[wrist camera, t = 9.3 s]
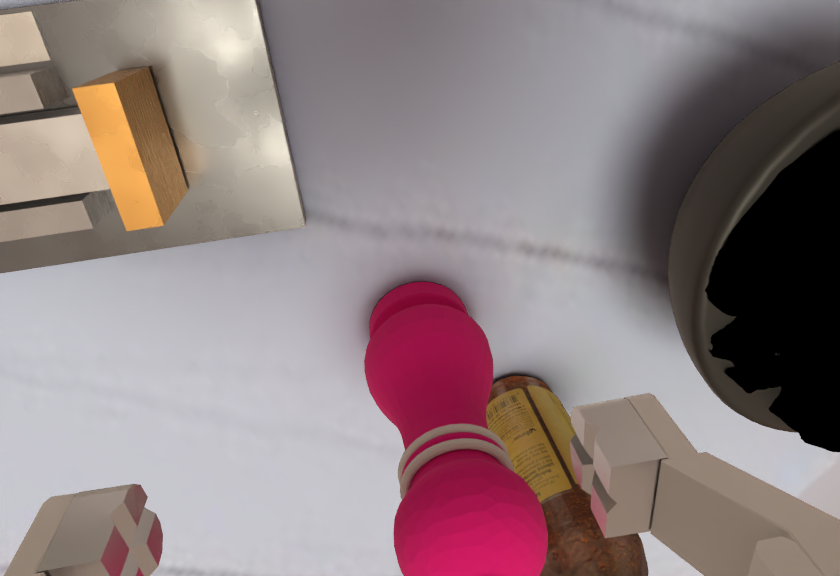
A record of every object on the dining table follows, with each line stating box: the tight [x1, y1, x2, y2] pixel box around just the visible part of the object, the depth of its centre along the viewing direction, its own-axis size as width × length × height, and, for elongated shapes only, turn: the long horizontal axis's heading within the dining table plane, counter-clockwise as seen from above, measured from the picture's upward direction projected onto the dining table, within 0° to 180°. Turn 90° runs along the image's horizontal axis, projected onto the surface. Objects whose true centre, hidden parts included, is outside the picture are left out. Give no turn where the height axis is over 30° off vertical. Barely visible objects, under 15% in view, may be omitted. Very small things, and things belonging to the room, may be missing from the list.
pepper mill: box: [364, 282, 548, 576], centre depth 28 cm, size 7×7×20 cm
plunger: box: [0, 67, 188, 231], centre depth 25 cm, size 9×11×5 cm
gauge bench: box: [0, 0, 306, 273], centre depth 26 cm, size 12×20×7 cm, turn 96°
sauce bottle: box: [486, 376, 648, 576], centre depth 32 cm, size 6×6×20 cm
